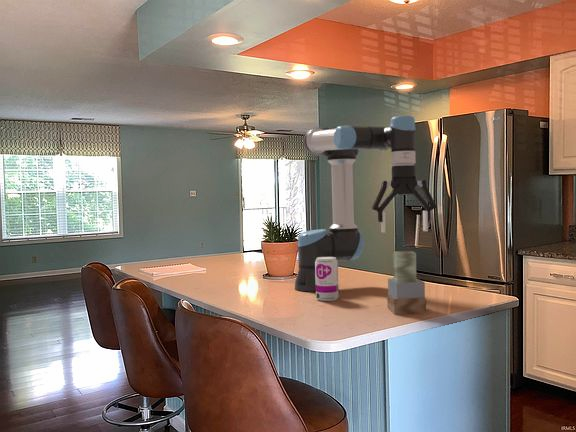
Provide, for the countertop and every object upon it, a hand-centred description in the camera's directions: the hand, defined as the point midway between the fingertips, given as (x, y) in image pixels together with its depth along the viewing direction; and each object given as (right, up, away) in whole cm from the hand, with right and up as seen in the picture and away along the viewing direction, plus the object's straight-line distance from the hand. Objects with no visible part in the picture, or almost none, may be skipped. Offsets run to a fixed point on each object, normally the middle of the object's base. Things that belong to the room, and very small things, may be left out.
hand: (404, 231), depth 166 cm
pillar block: (0, -16, 0) cm, 16 cm away
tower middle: (+1, -21, 0) cm, 21 cm away
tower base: (+1, -26, 0) cm, 26 cm away
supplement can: (-23, -25, +21) cm, 40 cm away
